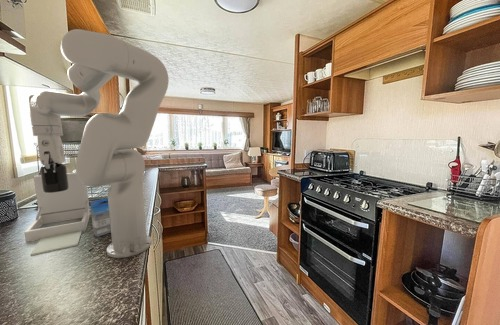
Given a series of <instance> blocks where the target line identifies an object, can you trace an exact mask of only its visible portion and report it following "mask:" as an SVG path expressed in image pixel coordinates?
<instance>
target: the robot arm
mask: <svg viewBox="0 0 500 325" xmlns="http://www.w3.org/2000/svg"><path fill="white" fill-rule="evenodd" d="M60 51H61V54H62V56H63V57H64V58H65V60H67V61H68V62H70V63H71V64H72V65H70V67H69V68H68V69H67V77H68V79H69V81H70V82H71V83H72V84H73V86H75V88H77V89H78V90H80V91H81V92H82V93H80V94H74V93H67V92H60V91H54V90H41V91H39V92H37V93H31V94H29V95H28V96H27V104H28V109H29V110H28V111H29V115H30V121H31V122H30V123H31V129H32V135H33V137H37V149H38V156H39V160H40V164H41V165H42V166H43V165H44V173H45V180H46V184H47V185H50V184H58V183H59V179H58V172H56V163H58V164H61V163H62V164H63V163H65V162H66V158H65V152H64V146H63V141H62V138H61V136H64V132H63V124H62V118H61V117H63V116H64V117H77V118H78V117H79V118H81V117H85V116H88V115H89V114H91V113H92V112H93V111H94V110H96V109H97V108H98V107H99V104H100V102H101V90H100V89H101V88H103V87H104V86H105V85H106V84H107V83H108V82H109V81H110V80H112V79H113V78H114V77H115V76H116V77H120V78H123V79H126V80H132V81H134V82H137V84H136V85H135V86H134V87H133V88H132V89H131V90H130V91H128V93H127V95H126V96H125V98H124V102H123V106H122V109H121V111H120V112H119V113H113V112H112V113H111V112H100V113H96V114H95V115H92V116H91V117H90V118H89V119H88V120H87V122H86V123H85V126H84V129H83V132H82V135H81V136H82V137H81V140H80V141H81V142H80V145H79V148H78V149H79V150H78V153H77V157H76V162H75V163H76V164H75V173H76V174H77V177H78V179H79V181H80V182H81V183H82V184H84V185H86V186H87V187H92V188H95V187H101V186H105V185H106V186H107V185H110V186H109V189H108V191H107V192H108V193H107V198H108V201H107V203H108V206H109V216H110V227H111V233H110V234H111V243H110V244H108V246H107V248H106V254H107V256H108V257H109V258H110V257H111V258H115V259H123V258H129V257H134V256H136V255H139V254H140V253H143V252H145V251H147V250H148V249H149V248H150V247H151V246H152V244H153V239H152V237H151V236H149V235H147V228H146V226H147V225H146V214H145V212H146V211H145V202H144V200H145V198H144V176H145V168H146V164H145V163H146V162H145V158H144V156H143V155H142V153H141V152H139V151H138V150H136V149H139V148H142V147H144V146H146V144H147V143H148V141H149V139H150V137H151V133H152V130H153V127H154V124H155V121H156V118H157V115H158V112H159V109H160V106H161V104H162V103H163V100H164V98H165V95H166V93H167V91H168V87H169V79H170V78H169V72H168V70H167V68H166V66H165V64H164V63H163V62H162V61H161V59H159V58H158V57H157V56H155V55H154V54H153V53H150V52H149V51H146V50H145V49H142V48H140V47H139V46H136V45H133V44H132V43H130V42H127V41H125V40H124V39H121V38H119V37H116V36H115V35H114V36H113V35H111V34H108V33H101V32H96V31H91V30H87V29H86V30H85V29H81V28H79V29H78V28H76V29H71V30H69V31H67V32H66V33H65V34H64V35H63V37H62V38H61V41H60ZM51 162H54V163H51Z"/></svg>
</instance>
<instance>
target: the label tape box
mask: <svg viewBox="0 0 500 325" xmlns="http://www.w3.org/2000/svg"><path fill="white" fill-rule="evenodd" d="M104 202H105V203H104ZM89 205H90V215H91V222H92V230H93V235H94V236H96V237H97V238H99V237H102V236H104V235H107V234H111V227H110V216H109V206H108V197H106V198H101V199H98V200H97V199H96V200H93V201H89Z"/></svg>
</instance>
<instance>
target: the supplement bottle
mask: <svg viewBox="0 0 500 325" xmlns="http://www.w3.org/2000/svg"><path fill="white" fill-rule="evenodd" d="M51 163H54V162H51ZM39 170H40V175H41V178H42V186H43V191H44V192H45V193H53V192H60V191H65V190H67V189H68V188H69V187H68V177H67V173H68V170H67V166H66V165H65V164H63V163H61V164H58V163H56V172H58V179H59V183H58V184H50V185H47V184H46V180H45V173H44V165H43V164H42V166H41V167H40V169H39Z"/></svg>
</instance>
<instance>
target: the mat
mask: <svg viewBox="0 0 500 325" xmlns="http://www.w3.org/2000/svg"><path fill="white" fill-rule="evenodd" d="M82 233H83V231H79V232H74V233H68V234H63V235H58V236H53V237H48V238H43V239H39V240H38V243H37V244H36V245H35V247H34V249H33V250H32V251H31V252H30V256H31V257H32V256H35V255H41V254H45V253H46V254H47V253H49V252H54V251H58V250H64V249H68V248H73V247H77V246H78V245H79V242H80V239H81V235H82Z"/></svg>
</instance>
